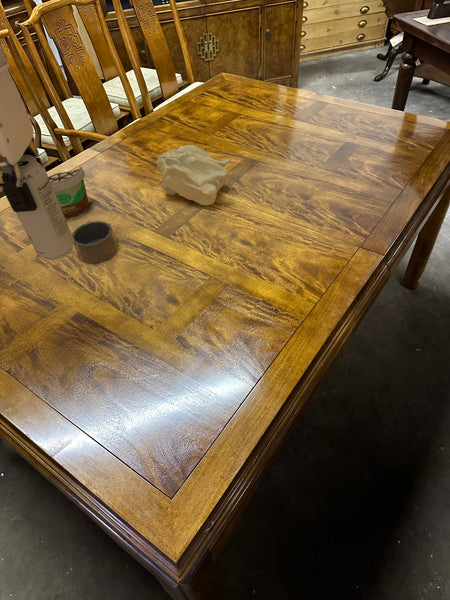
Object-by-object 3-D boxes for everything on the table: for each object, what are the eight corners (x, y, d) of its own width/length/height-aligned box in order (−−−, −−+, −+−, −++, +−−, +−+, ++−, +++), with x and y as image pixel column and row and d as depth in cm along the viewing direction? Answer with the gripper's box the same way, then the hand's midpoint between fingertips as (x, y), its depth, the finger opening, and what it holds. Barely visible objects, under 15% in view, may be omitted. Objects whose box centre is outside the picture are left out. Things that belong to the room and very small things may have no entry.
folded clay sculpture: (218, 213, 112) (244, 162, 103) (196, 229, 102) (222, 175, 93) (165, 176, 114) (185, 123, 104) (137, 189, 104) (157, 131, 94)
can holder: (75, 265, 91) (67, 247, 87) (82, 241, 97) (75, 223, 94) (115, 261, 91) (109, 243, 87) (119, 237, 97) (113, 219, 93)
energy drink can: (43, 240, 69) (2, 154, 58) (79, 236, 69) (45, 150, 58) (33, 263, 65) (-13, 176, 54) (72, 260, 65) (33, 172, 54)
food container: (49, 225, 102) (33, 189, 95) (46, 213, 107) (30, 178, 99) (99, 211, 105) (86, 175, 98) (94, 199, 109) (81, 164, 102)
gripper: (-35, 39, 53) (23, 169, 66) (-101, 88, 41) (-14, 235, 54) (23, 33, 53) (70, 165, 66) (-25, 81, 41) (44, 230, 54)
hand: (32, 195), depth 60 cm, fingers closed on energy drink can, 6 cm apart
